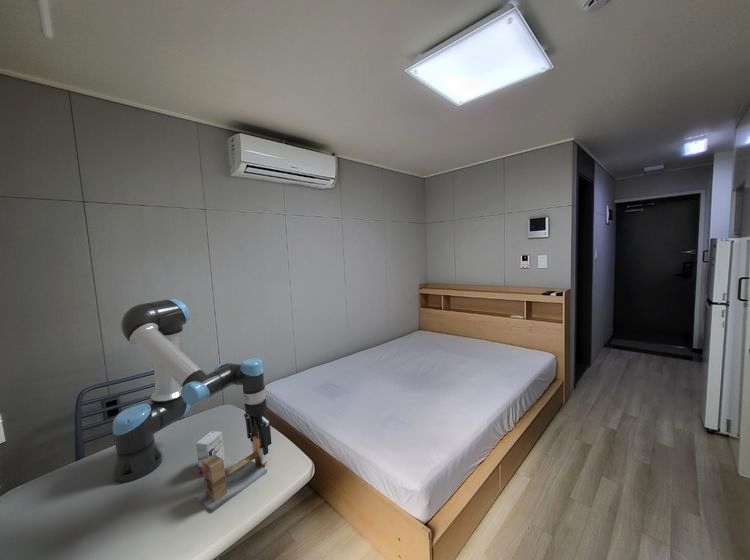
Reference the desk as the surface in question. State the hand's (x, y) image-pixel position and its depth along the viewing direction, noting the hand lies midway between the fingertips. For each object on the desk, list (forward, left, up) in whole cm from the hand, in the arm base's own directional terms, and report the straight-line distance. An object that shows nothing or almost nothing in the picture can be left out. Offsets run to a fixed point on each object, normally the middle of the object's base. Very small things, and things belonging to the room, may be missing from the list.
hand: (261, 459), depth 114 cm
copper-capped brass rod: (0, -5, -1) cm, 6 cm away
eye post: (0, -11, -3) cm, 12 cm away
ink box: (-17, -10, -3) cm, 20 cm away
